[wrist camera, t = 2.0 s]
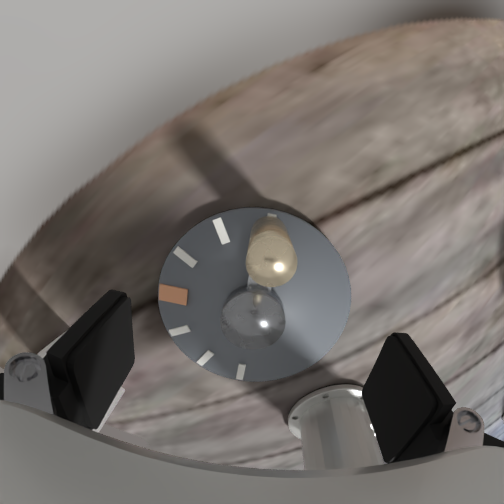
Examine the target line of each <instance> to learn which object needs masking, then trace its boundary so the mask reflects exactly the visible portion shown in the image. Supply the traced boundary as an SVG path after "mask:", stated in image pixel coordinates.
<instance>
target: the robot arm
mask: <svg viewBox="0 0 504 504" xmlns="http://www.w3.org/2000/svg"><path fill="white" fill-rule="evenodd" d="M46 353H47V354H46V356H45V357H44V358H43V359H42V358H41V357H40V356H39V355H37V354H34V353H20V354H17V355H15V356H13V357H12V358H10V359H9V360H8V362H7V363H6V365H5V369H4V373H0V504H504V442H503V441H501V440H499V439H497V438H494V437H492V436H490V435H488V434H486V433H484V422H483V419H482V418H481V416H480V415H479V414H478V413H477V412H476V411H474V410H472V409H470V408H466V407H461V408H458V409H457V410H455V411H454V413H453V411H452V410H451V409H452V408H453V407H454V405H455V404H456V402H455V400H454V399H453V397H452V396H451V394H450V393H449V391H448V390H447V388H446V387H445V385H444V384H443V382H442V381H441V379H440V378H439V376H438V375H437V374H436V372H435V371H434V369H433V368H432V366H431V365H430V364H429V362H428V361H427V359H426V358H425V357H424V355H423V354H422V352H421V351H420V350H419V348H418V347H417V345H416V344H415V343H414V341H413V340H412V339H411V337H410V336H409V335H408V334H407V333H392V334H391V336H388V337H387V339H386V341H385V343H384V345H383V347H382V350H381V352H380V354H379V356H378V358H377V360H376V363H375V365H374V367H373V369H372V371H371V373H370V375H369V377H368V379H367V381H366V383H365V385H364V387H360V386H357V385H349V384H342V385H333V386H329V387H325V388H322V389H319V390H316V391H314V392H312V393H310V394H308V395H306V396H305V397H303V398H302V399H300V400H299V401H298V402H297V403H296V404H295V405H294V406H293V407H292V409H291V411H290V413H289V416H288V426H289V429H290V431H291V433H292V434H293V435H295V436H296V437H297V438H299V439H301V442H302V451H303V461H304V470H271V469H257V468H246V467H236V466H228V465H221V464H215V463H208V462H203V461H197V460H192V459H187V458H182V457H178V456H173V455H169V454H165V453H161V452H157V451H153V450H150V449H146V448H143V447H139V446H136V445H133V444H130V443H127V442H123V441H120V440H118V439H114V438H111V437H108V436H106V435H103V434H100V433H98V432H95V431H93V429H95V430H96V429H97V428H98V427H99V426H100V424H101V422H102V420H103V418H104V416H105V414H106V413H107V411H108V409H109V407H110V405H111V404H112V402H113V400H114V398H115V396H116V395H117V393H118V391H119V389H120V387H121V386H122V384H123V382H124V380H125V379H126V377H127V375H128V373H129V372H130V370H131V368H132V366H133V364H134V360H135V355H134V344H133V330H132V312H131V299H130V298H128V297H127V295H126V293H124V292H120V291H116V290H109V291H108V292H107V293H106V294H105V295H104V296H103V297H102V298H100V299H99V300H98V301H97V302H96V303H95V304H94V305H93V306H92V307H91V308H90V309H89V310H88V311H87V312H86V313H85V314H84V315H83V316H82V317H80V318H79V319H78V320H77V321H76V322H75V323H74V324H73V325H72V326H71V327H70V328H69V329H68V330H67V331H66V332H65V333H64V334H63V335H62V336H61V337H60V338H59V339H58V340H57V341H56V342H55V343H54V344H53V345H52V346H51V347H50V348H49V350H48V351H47V352H46ZM376 438H377V440H376ZM377 441H378V443H377ZM378 444H379V446H378ZM379 447H380V449H379ZM380 450H381V452H380ZM381 453H382V455H381ZM382 456H383V458H382ZM383 459H384V461H385V462H386V463H388V464H384V462H383Z"/></svg>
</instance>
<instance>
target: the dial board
mask: <svg viewBox="0 0 504 504" xmlns="http://www.w3.org/2000/svg"><path fill="white" fill-rule="evenodd" d="M264 216H274V217H277V218H279V219H280V220H281V221H282V222H283V223H284V225H285V226H286V229H287V232H288V234H289V237H290V240H291V242H292V245H293V248H294V250H295V253H296V256H297V269H296V272H295V274H294V275H293V277H292V278H291V279H290V280H289V281H288V282H287V283H285V284H283V285H281V286H277V287H272V288H271V290H273V291H274V292H275V293H276V294H277V295H278V296H279V297H280V299H281V301H282V303H283V306H284V313H285V321H286V323H285V329H284V332H283V334H282V336H281V337H280V338H279V339H278V340H277V341H276V342H275V343H274V344H272V345H270V346H268V347H266V348H263V349H256V350H251V349H244V348H241V347H238V346H236V345H234V344H233V343H231V342H230V341H229V340H228V339H227V338H226V337H225V335H224V334H223V332H222V329H221V326H220V317H221V313H222V309H223V306H224V302H225V300H226V298H227V297H228V295H229V294H230V293H231V292H232V291H234V290H235V289H237V288H239V287H241V286H244V285H247V282H248V277H249V274H248V272H247V269H246V257H247V251H248V245H249V240H250V234H251V229H252V226H253V224H254V223H255V222H256V221H257V220H258V219H259V218H261V217H264ZM158 303H159V309H160V314H161V317H162V320H163V323H164V325H165V327H166V329H167V331H168V333H169V335H170V337H171V338H172V340H173V341H174V343H175V344H176V345H177V346H178V347H179V349H180V350H181V351H182V352H183V353H184V354H185V355H186V356H188V357H189V358H190V359H191V360H192V361H194V362H195V363H197V364H198V365H200V366H201V367H203V368H205V369H206V370H208V371H211V372H213V373H215V374H217V375H220V376H223V377H226V378H230V379H235V380H240V381H250V382H261V381H271V380H276V379H281V378H285V377H288V376H291V375H294V374H296V373H298V372H301V371H303V370H305V369H306V368H308V367H310V366H311V365H313V364H314V363H316V362H317V361H318V360H320V359H321V358H322V357H323V356H324V355H325V354H326V353H327V352H328V351H329V350H330V349H331V348H332V347H333V346H334V344H335V343H336V342H337V340H338V338H339V337H340V335H341V334H342V332H343V329H344V327H345V325H346V323H347V319H348V316H349V312H350V305H351V287H350V281H349V276H348V273H347V270H346V267H345V265H344V263H343V261H342V259H341V257H340V255H339V253H338V252H337V251H336V249H335V248H334V246H333V245H332V244H331V243H330V241H329V240H328V239H327V238H326V237H325V236H324V235H323V234H322V233H321V232H320V231H319V230H317V229H316V228H315V227H313V226H312V225H311V224H309V223H308V222H306V221H304V220H302V219H301V218H299V217H297V216H294V215H292V214H289V213H287V212H283V211H279V210H276V209H270V208H262V207H244V208H238V209H231V210H228V211H224V212H221V213H218V214H215V215H213V216H211V217H209V218H207V219H205V220H203V221H202V222H200V223H199V224H197V225H195V226H194V227H193V228H192V229H191V230H189V231H188V232H187V233H186V234H185V235H184V236H183V237H182V238H181V239H180V240H179V241H178V242H177V243H176V245H175V246H174V247H173V248H172V250H171V252H170V253H169V255H168V256H167V258H166V261H165V263H164V265H163V267H162V271H161V274H160V278H159V285H158Z"/></svg>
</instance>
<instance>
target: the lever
mask: <svg viewBox="0 0 504 504" xmlns="http://www.w3.org/2000/svg"><path fill="white" fill-rule="evenodd" d="M246 269H247V272H248V274H249V277H248V282H247V285H244V286H241V287H239V288H237V289H235V290H234V291H232V292H231V293H230V294H229V295H228V297H227V298H226V300H225V302H224V306H223V309H222V313H221V317H220V326H221V329H222V332H223V334H224V335H225V337H226V338H227V339H228V340H229V341H230V342H231V343H233V344H234V345H236V346H238V347H241V348H244V349H251V350H256V349H263V348H266V347H268V346H270V345H272V344H274V343H275V342H276V341H277V340H278V339H279V338H280V337H281V336H282V334H283V332H284V329H285V323H286V321H285V313H284V306H283V303H282V301H281V299H280V297H279V296H278V295H277V294H276V293H275V292H274V291H273V290H271V288H272V287H277V286H281V285H283V284H285V283H287V282H288V281H289V280H290V279H291V278H292V277H293V275H294V274H295V272H296V269H297V256H296V253H295V250H294V248H293V245H292V242H291V240H290V237H289V234H288V232H287V229H286V226H285V225H284V223H283V222H282V221H281V220H280V219H279V218H277V217H274V216H264V217H261V218H259V219H258V220H257V221H256V222H255V223H254V224H253V226H252V229H251V234H250V240H249V245H248V251H247V257H246Z"/></svg>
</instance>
